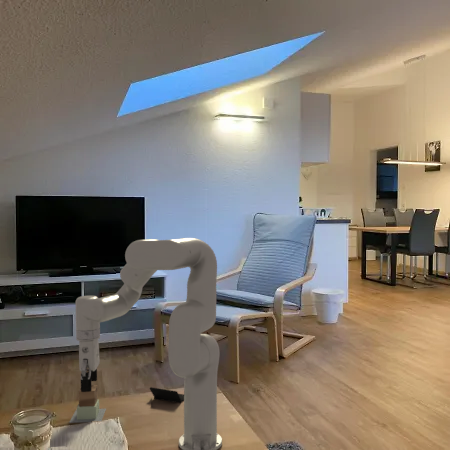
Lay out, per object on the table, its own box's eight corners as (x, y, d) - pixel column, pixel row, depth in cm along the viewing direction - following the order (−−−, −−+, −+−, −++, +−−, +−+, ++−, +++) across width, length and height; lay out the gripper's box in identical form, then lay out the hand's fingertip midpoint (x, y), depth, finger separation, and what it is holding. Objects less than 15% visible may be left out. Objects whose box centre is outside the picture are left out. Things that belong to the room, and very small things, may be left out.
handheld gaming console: (189, 390, 172) (181, 375, 166) (186, 408, 167) (178, 393, 161) (160, 392, 175) (151, 377, 169) (156, 410, 169) (147, 395, 163)
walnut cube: (94, 406, 150) (94, 390, 150) (78, 406, 150) (78, 391, 150) (97, 399, 155) (97, 385, 155) (82, 400, 155) (82, 385, 155)
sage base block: (95, 418, 150) (95, 406, 150) (76, 419, 149) (76, 407, 149) (99, 411, 156) (99, 399, 156) (80, 411, 155) (80, 400, 155)
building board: (101, 423, 148) (101, 421, 148) (69, 425, 147) (69, 422, 147) (106, 410, 158) (106, 408, 158) (76, 412, 157) (76, 409, 157)
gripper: (94, 340, 144) (96, 395, 144) (104, 327, 161) (105, 376, 161) (70, 341, 143) (71, 396, 143) (82, 328, 160) (83, 377, 161)
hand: (89, 386), depth 152 cm, fingers open, 9 cm apart
